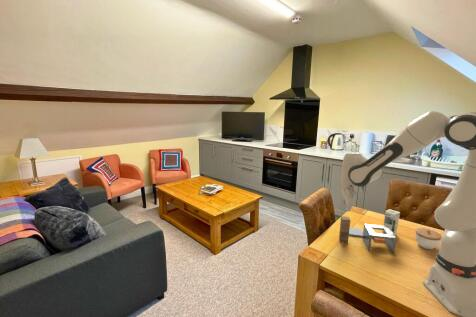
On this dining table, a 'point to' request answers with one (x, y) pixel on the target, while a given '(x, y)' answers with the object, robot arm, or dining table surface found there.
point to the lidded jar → (427, 238)
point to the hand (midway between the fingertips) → (346, 206)
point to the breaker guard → (379, 236)
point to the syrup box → (391, 220)
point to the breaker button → (378, 240)
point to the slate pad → (355, 232)
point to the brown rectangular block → (344, 229)
